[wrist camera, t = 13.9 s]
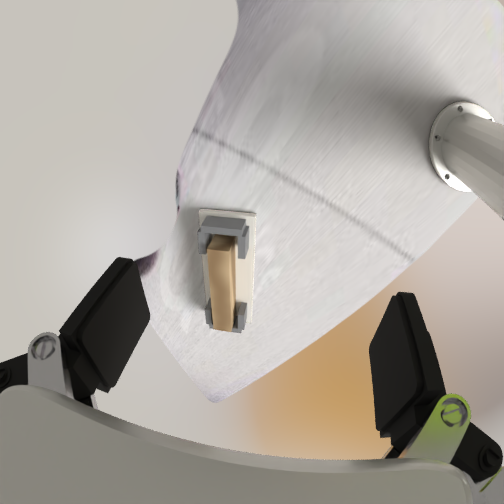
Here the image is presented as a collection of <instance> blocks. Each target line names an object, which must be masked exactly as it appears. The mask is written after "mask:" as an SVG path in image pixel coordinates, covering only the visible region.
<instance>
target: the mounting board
mask: <svg viewBox="0 0 504 504" xmlns="http://www.w3.org/2000/svg"><path fill="white" fill-rule="evenodd" d="M199 226H200V229H199V230H198V232H197V233H198V245H199V254H202V265H203V276H204V286H205V297H206V308H205V316H206V324H209V326H210V328H212V329H214V328H213V318H212V307H211V295H210V283H209V270H208V257H207V248H208V246H209V244H210V243H211V241H212V239H213V237H214V235H215V234H219V235H228V236H235V255H236V317H235V320H234V324H233V327H232V331H231V332H236V333H241V331H242V330H244V327H245V323H251V321H252V306H253V283H254V259H255V235H256V214H255V213H245V212H234V211H223V210H212V209H200V210H199Z"/></svg>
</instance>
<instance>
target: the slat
mask: <svg viewBox="0 0 504 504" xmlns="http://www.w3.org/2000/svg"><path fill="white" fill-rule="evenodd" d="M207 257H208V270H209V283H210V295H211V307H212V318H213V328H214V329H215V330H221V331H228V332H231V331H232V327H233V324H234V320H235V317H236V255H235V236H228V235H219V234H215V235H214V237H213V239H212V241H211V243H210V244H209V246H208V248H207Z"/></svg>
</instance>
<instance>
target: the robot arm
mask: <svg viewBox="0 0 504 504" xmlns="http://www.w3.org/2000/svg"><path fill="white" fill-rule="evenodd" d="M435 136H436V138H435ZM429 151H430V157H431V161H432V164H433V166H434V169H435V171H436V172H437V174H438V175H439V177H440V178H441V179H442V180H443V181H444V182H445V183H446V184H448V185H449V186H450V187H452V188H454V189H456V190H459V191H464V192H470V191H473V192H474V193H475V194H476V195H477V196H478V197H479V198H481V199H482V200H483V201H484V202H485V203H486V204H487V205H488V206H489V207H490V208H491V209H492V210H494V211H495V212H496V213H497V214H498V215H499V216H500V217H501V218H502V219H503V220H504V125H502V124H499V123H496V122H495V121H494V119H493V118H492V116H491V115H490V114H489V113H488V112H487V111H486V110H485V109H484V108H482V107H481V106H479V105H477V104H474V103H471V102H465V101H462V102H455V103H453V104H450V105H448V106H447V107H445V108H444V109H443V110H442V111H441V112H440V113H439V114H438V116H437V118H436V119H435V121H434V123H433V126H432V128H431V132H430V137H429ZM445 174H446V175H445ZM149 320H150V312H149V308H148V305H147V301H146V297H145V294H144V290H143V286H142V282H141V278H140V274H139V270H138V266H137V264H135V263H134V261H133V260H132V259H128V258H121V257H118V258H116V259H115V261H114V262H113V263H112V264H111V265H110V266H109V268H108V269H107V270H106V271H105V272H104V274H103V275H102V276H101V277H100V279H99V280H98V281H97V282H96V283H95V285H94V286H93V287H92V288H91V289H90V291H89V292H88V293H87V295H86V296H85V297H84V298H83V300H82V301H81V302H80V304H79V305H78V306H77V308H76V309H75V310H74V312H73V313H72V314H71V315H70V317H69V318H68V320H67V321H66V322H65V323H64V325H63V326H62V328H61V329H60V330H59V332H60V335H59V336H57V335H56V334H54V333H50V332H46V333H42V334H40V335H38V336H37V337H35V338H34V339H33V340H32V341H31V343H30V345H29V347H28V353H26V354H24V355H21V356H18V357H15V358H13V359H10V360H7V361H4V362H1V363H0V504H504V466H503V467H502V466H501V464H502V460H503V455H502V450H501V448H500V446H499V445H498V444H497V443H496V442H495V441H494V440H492V439H491V438H490V437H489V436H488V435H486V434H485V433H484V432H483V431H481V430H480V429H479V428H478V427H476V426H475V425H474V424H473V423H471V422H470V419H471V410H470V407H469V405H468V403H467V401H466V400H465V399H464V398H463V397H461V396H459V395H457V394H452V393H451V394H446V391H445V387H444V382H443V378H442V375H441V370H440V367H439V363H438V359H437V356H436V353H435V349H434V346H433V343H432V340H431V336H430V334H429V332H428V331H427V329H426V326H425V323H424V320H423V317H422V314H421V311H420V308H419V306H418V303H417V300H416V297H415V295H414V294H413V293H407V292H398V293H397V295H396V296H392V298H391V300H390V302H389V305H388V307H387V309H386V311H385V314H384V316H383V318H382V320H381V322H380V325H379V327H378V329H377V331H376V333H375V335H374V337H373V339H372V341H371V343H370V347H369V356H370V364H371V373H372V383H373V394H374V406H375V422H376V429H377V430H378V431H380V438H385V437H391V447H390V448H389V449H388V451H387V452H386V453H385V455H384V456H383V457H382V458H381V459H373V460H318V459H300V458H288V457H278V456H269V455H261V454H254V453H247V452H240V451H235V450H230V449H224V448H219V447H214V446H209V445H205V444H201V443H196V442H193V441H189V440H185V439H181V438H177V437H174V436H170V435H167V434H163V433H160V432H157V431H153V430H151V429H147V428H144V427H141V426H138V425H135V424H133V423H130V422H127V421H125V420H122V419H119V418H117V417H114V416H111V415H109V414H107V413H104V412H102V411H99V410H98V407H97V404H96V400H95V395H94V392H95V390H96V388H97V389H99V390H101V391H104V392H107V393H108V392H109V390H110V388H111V387H114V386H115V385H116V383H117V381H118V379H119V377H120V375H121V373H122V371H123V369H124V367H125V366H126V364H127V362H128V360H129V358H130V356H131V354H132V352H133V350H134V348H135V347H136V345H137V343H138V341H139V339H140V337H141V335H142V333H143V332H144V330H145V328H146V326H147V324H148V323H149Z"/></svg>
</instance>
